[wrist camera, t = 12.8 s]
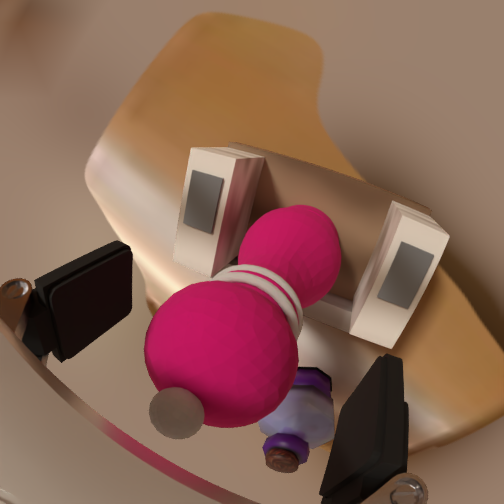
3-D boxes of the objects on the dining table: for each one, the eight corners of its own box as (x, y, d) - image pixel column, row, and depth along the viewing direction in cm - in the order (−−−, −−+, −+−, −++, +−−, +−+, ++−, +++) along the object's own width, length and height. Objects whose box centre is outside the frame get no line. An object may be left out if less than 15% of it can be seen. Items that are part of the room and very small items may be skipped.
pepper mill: (359, 259, 24) (321, 495, 6) (287, 291, 27) (165, 481, 9) (318, 182, 23) (162, 295, 5) (247, 222, 26) (53, 352, 9)
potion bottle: (261, 366, 33) (217, 442, 22) (326, 346, 29) (300, 435, 18) (295, 412, 34) (265, 486, 23) (356, 397, 30) (341, 482, 19)
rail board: (236, 142, 26) (191, 140, 19) (428, 207, 21) (453, 229, 15) (211, 257, 31) (168, 288, 24) (376, 322, 26) (375, 374, 19)
